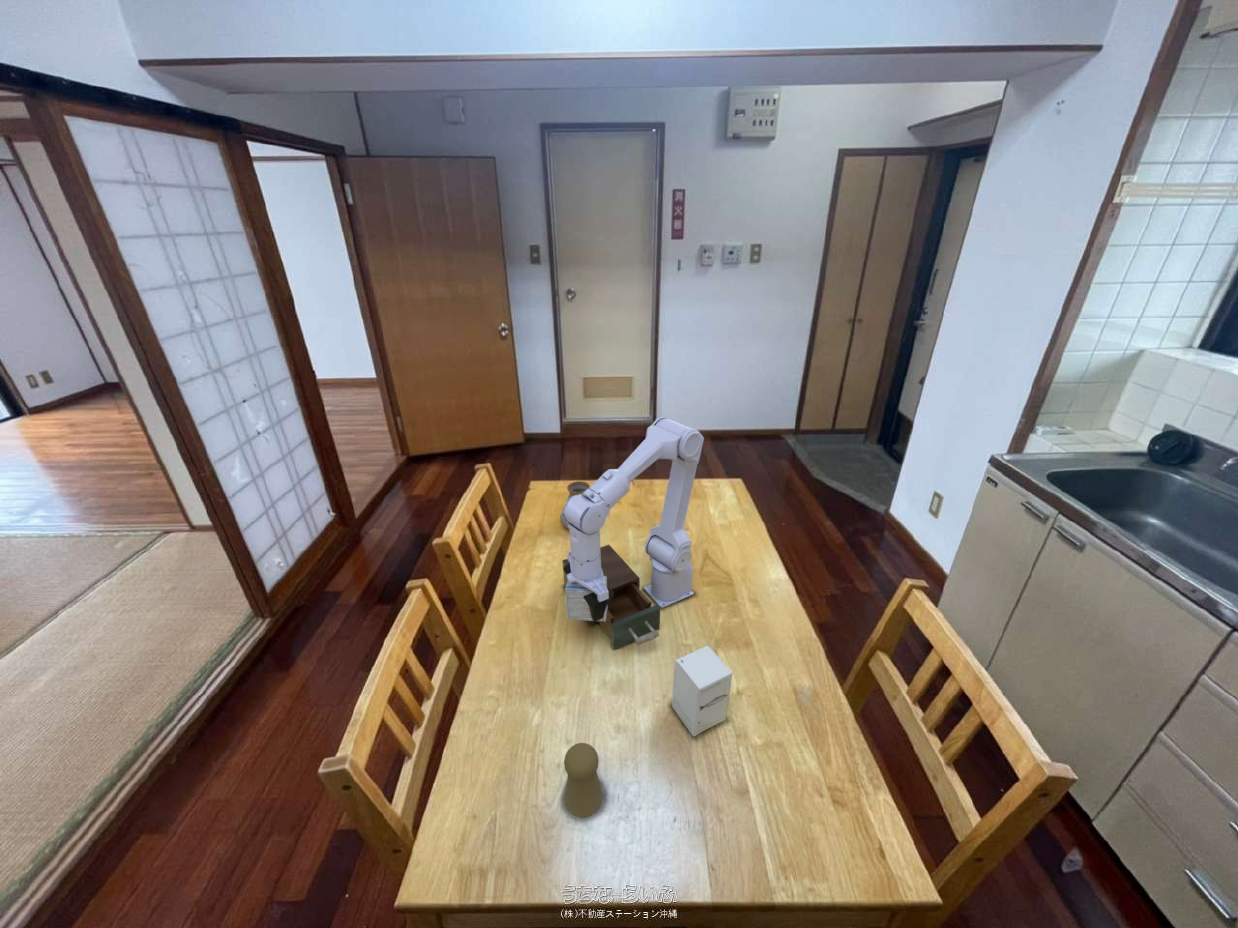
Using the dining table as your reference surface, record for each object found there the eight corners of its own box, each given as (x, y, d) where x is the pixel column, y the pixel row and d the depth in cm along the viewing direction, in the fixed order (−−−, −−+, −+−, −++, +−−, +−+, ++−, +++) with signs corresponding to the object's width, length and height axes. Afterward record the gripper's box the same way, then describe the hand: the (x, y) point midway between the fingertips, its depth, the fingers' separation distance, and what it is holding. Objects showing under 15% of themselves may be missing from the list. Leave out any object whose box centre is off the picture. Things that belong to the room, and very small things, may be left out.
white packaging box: (693, 738, 91) (698, 689, 85) (670, 706, 97) (673, 658, 91) (727, 721, 94) (733, 672, 88) (703, 690, 100) (707, 643, 94)
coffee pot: (559, 537, 145) (556, 491, 138) (561, 514, 155) (558, 470, 148) (635, 535, 145) (635, 489, 138) (632, 512, 155) (633, 468, 148)
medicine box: (608, 607, 108) (607, 575, 104) (605, 622, 104) (604, 590, 100) (570, 605, 109) (568, 573, 105) (567, 620, 105) (564, 587, 101)
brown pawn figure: (564, 780, 85) (560, 737, 80) (601, 776, 85) (600, 734, 80) (564, 819, 79) (560, 776, 74) (603, 815, 80) (602, 772, 75)
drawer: (671, 643, 109) (672, 620, 106) (624, 664, 104) (624, 642, 101) (628, 592, 123) (628, 571, 120) (585, 609, 118) (584, 588, 115)
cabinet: (639, 604, 121) (639, 577, 117) (591, 624, 115) (589, 597, 111) (609, 569, 132) (608, 544, 128) (564, 586, 126) (562, 560, 123)
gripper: (552, 539, 103) (556, 591, 110) (583, 581, 92) (586, 636, 99) (583, 529, 106) (586, 580, 113) (618, 568, 95) (618, 623, 102)
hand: (588, 606), depth 106 cm, fingers closed on medicine box, 7 cm apart
